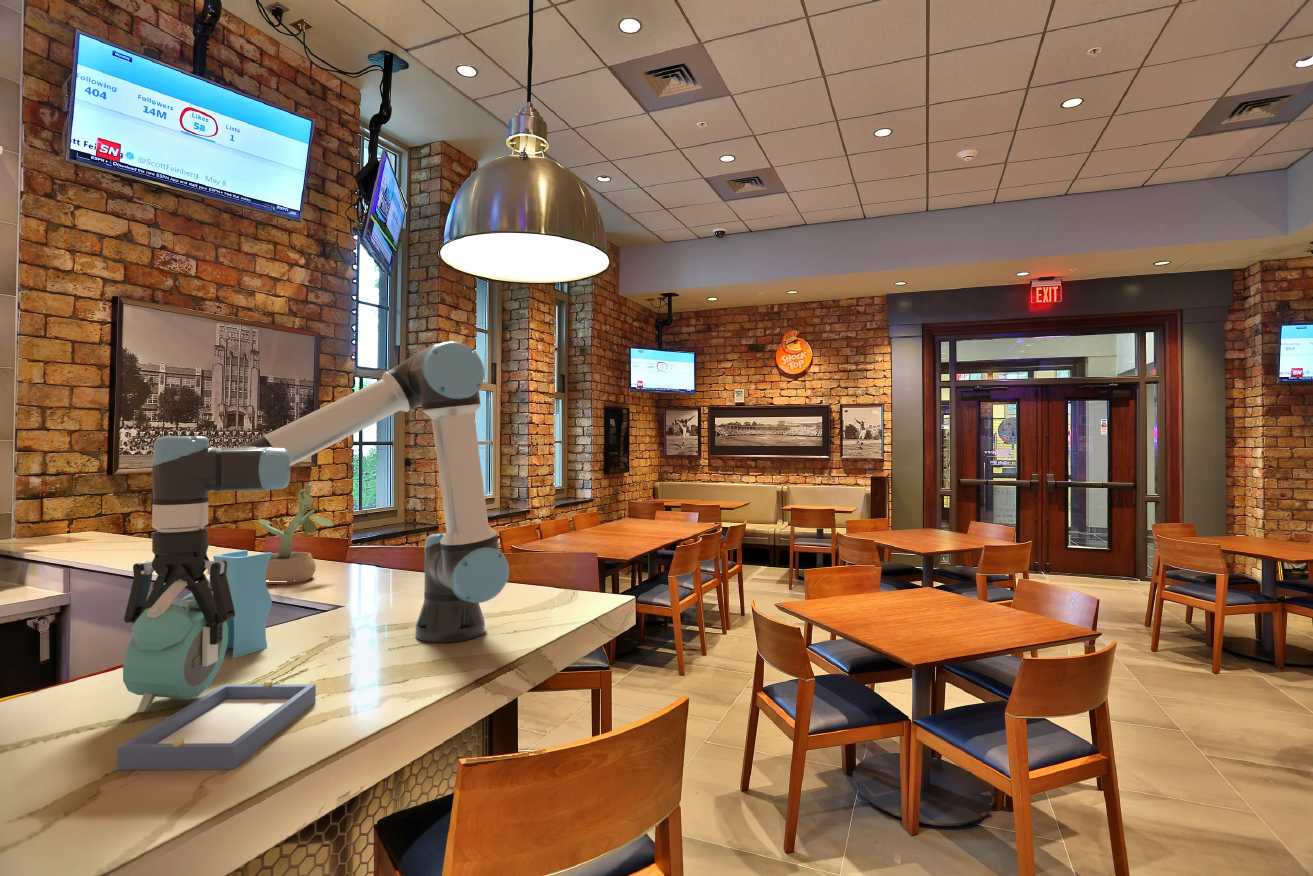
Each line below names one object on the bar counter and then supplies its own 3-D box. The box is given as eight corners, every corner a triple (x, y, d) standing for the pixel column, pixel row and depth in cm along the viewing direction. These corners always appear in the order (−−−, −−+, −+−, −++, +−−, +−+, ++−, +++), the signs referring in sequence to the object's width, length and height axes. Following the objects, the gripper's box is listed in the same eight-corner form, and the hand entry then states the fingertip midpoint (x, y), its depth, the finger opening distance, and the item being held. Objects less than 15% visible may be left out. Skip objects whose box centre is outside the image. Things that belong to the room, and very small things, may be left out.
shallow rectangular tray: (315, 702, 107) (316, 680, 107) (233, 769, 85) (233, 742, 85) (223, 702, 106) (224, 680, 106) (116, 770, 84) (117, 743, 84)
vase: (270, 646, 135) (272, 552, 135) (235, 658, 127) (237, 558, 128) (243, 642, 138) (245, 549, 138) (207, 653, 130) (209, 555, 130)
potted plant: (237, 586, 190) (239, 485, 190) (274, 574, 208) (276, 482, 208) (311, 587, 189) (313, 486, 190) (343, 575, 207) (344, 483, 207)
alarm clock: (182, 678, 114) (183, 566, 114) (238, 676, 115) (239, 566, 115) (107, 720, 97) (108, 589, 97) (174, 718, 98) (174, 588, 98)
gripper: (260, 525, 110) (260, 655, 110) (131, 525, 109) (130, 656, 109) (233, 531, 103) (233, 671, 103) (94, 532, 102) (93, 672, 102)
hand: (180, 663), depth 106 cm, fingers closed on alarm clock, 9 cm apart
